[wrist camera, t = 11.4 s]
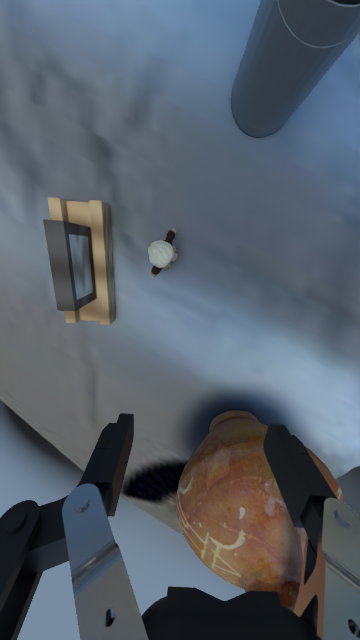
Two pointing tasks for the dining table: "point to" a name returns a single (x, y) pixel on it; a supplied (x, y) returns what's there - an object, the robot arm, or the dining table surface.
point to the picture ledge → (100, 224)
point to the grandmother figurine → (162, 253)
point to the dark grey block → (71, 263)
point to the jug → (242, 509)
